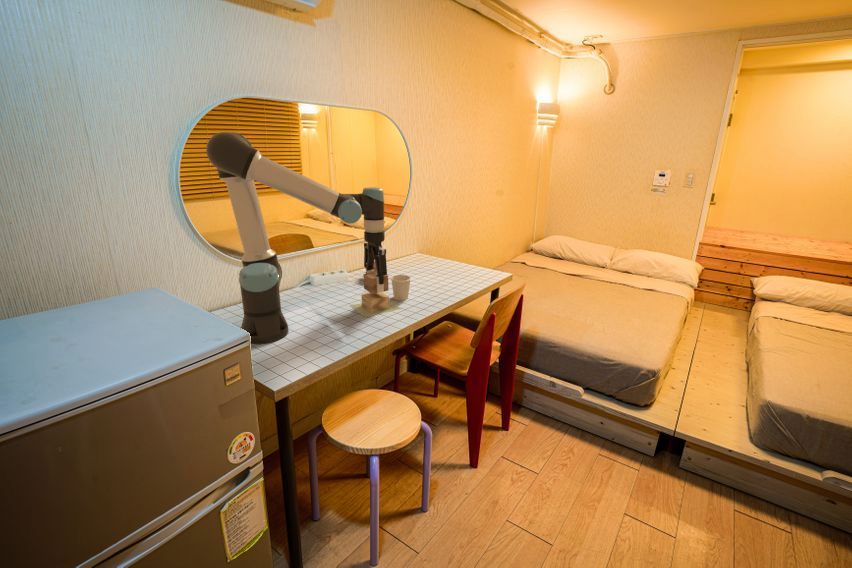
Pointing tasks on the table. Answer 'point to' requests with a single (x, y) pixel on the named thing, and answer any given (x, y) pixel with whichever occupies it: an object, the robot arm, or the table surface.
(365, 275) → the walnut block
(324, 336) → the table surface
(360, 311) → the build plate
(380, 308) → the oak block
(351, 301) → the table surface
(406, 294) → the dixie cup
